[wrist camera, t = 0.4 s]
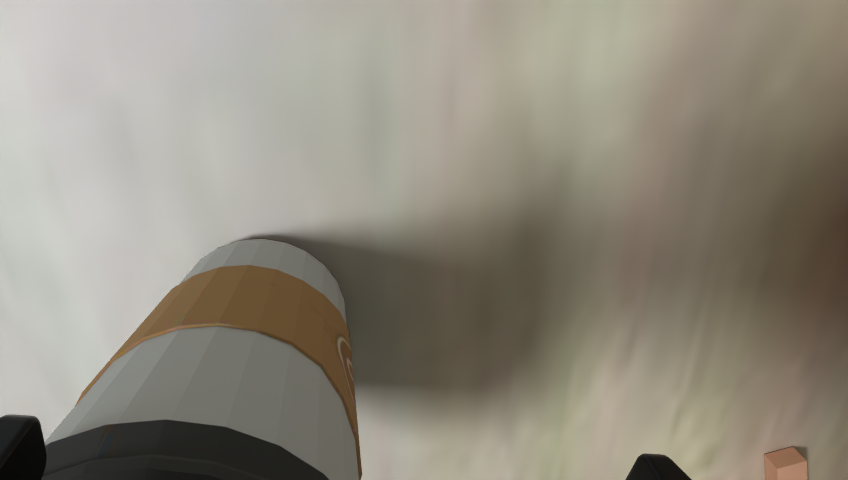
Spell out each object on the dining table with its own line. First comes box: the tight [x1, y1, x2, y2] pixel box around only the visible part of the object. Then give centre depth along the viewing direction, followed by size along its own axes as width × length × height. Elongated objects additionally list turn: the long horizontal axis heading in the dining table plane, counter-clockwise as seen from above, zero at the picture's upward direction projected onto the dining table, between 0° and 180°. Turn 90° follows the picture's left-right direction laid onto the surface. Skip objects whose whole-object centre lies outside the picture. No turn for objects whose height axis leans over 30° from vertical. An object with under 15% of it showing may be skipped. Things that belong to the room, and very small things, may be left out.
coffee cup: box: [41, 239, 362, 480], centre depth 18 cm, size 8×8×15 cm
